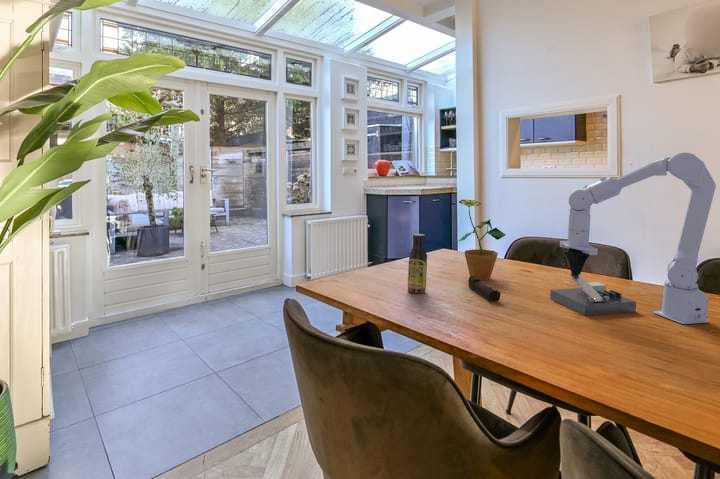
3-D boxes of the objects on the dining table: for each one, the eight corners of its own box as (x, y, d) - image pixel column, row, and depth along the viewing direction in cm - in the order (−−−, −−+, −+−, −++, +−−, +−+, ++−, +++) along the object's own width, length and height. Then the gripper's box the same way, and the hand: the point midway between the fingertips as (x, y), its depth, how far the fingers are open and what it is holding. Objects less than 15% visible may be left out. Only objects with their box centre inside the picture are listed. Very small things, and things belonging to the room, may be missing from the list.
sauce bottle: (405, 292, 141) (404, 235, 138) (411, 288, 146) (411, 232, 143) (423, 295, 138) (423, 236, 134) (429, 290, 143) (429, 233, 140)
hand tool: (500, 302, 129) (501, 288, 128) (488, 303, 128) (489, 288, 128) (476, 287, 148) (477, 274, 147) (465, 287, 147) (466, 274, 146)
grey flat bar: (603, 302, 117) (604, 299, 117) (594, 303, 117) (595, 300, 117) (578, 275, 128) (579, 272, 127) (569, 275, 127) (570, 273, 127)
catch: (606, 291, 127) (606, 285, 127) (585, 292, 126) (585, 286, 126) (596, 288, 131) (597, 281, 131) (576, 289, 130) (577, 283, 130)
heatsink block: (635, 311, 118) (636, 296, 117) (584, 315, 115) (585, 300, 115) (595, 295, 133) (596, 282, 133) (550, 299, 131) (550, 285, 130)
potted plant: (454, 282, 153) (456, 201, 148) (458, 271, 170) (459, 198, 166) (506, 285, 147) (509, 201, 143) (503, 273, 165) (506, 198, 160)
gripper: (552, 227, 131) (549, 269, 133) (583, 234, 117) (579, 280, 119) (572, 226, 132) (569, 268, 134) (605, 233, 118) (601, 279, 120)
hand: (575, 274), depth 126 cm, fingers closed
